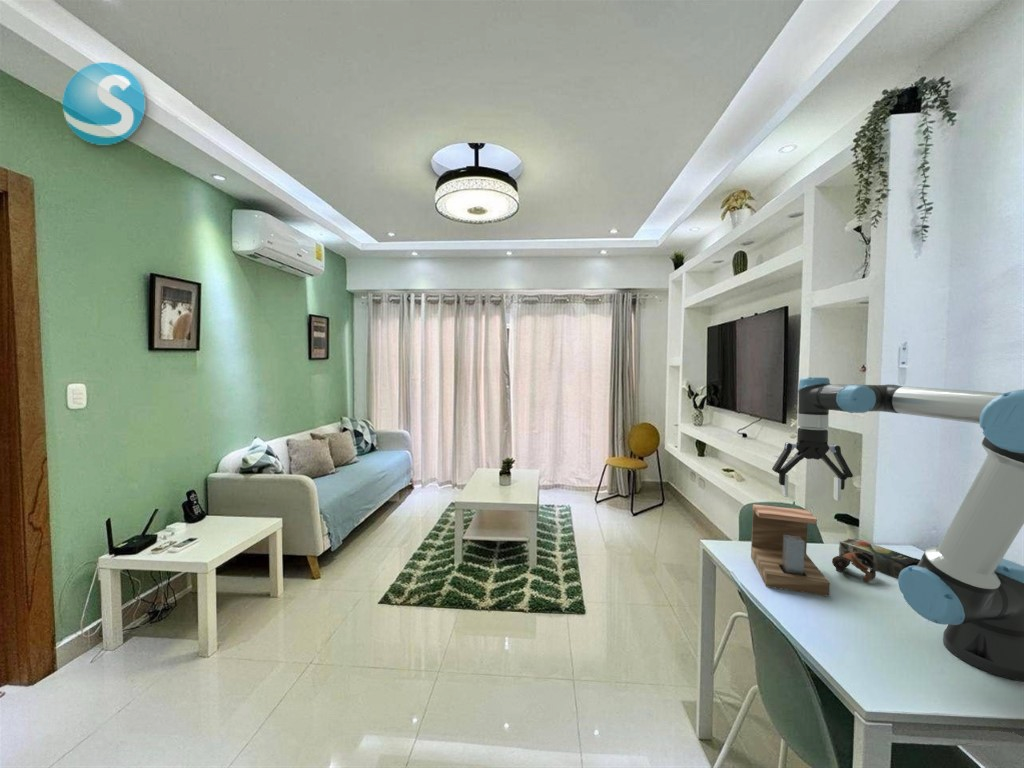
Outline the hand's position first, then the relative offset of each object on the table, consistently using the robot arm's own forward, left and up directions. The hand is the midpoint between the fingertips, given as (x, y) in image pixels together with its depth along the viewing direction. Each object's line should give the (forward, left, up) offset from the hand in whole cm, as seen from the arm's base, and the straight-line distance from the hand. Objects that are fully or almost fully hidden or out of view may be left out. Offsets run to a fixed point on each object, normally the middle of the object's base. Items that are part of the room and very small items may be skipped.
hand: (810, 497), depth 127 cm
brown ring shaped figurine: (+12, -16, -27) cm, 33 cm away
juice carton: (+22, -27, -27) cm, 44 cm away
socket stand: (+4, +4, -27) cm, 27 cm away
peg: (-1, +4, -27) cm, 27 cm away
